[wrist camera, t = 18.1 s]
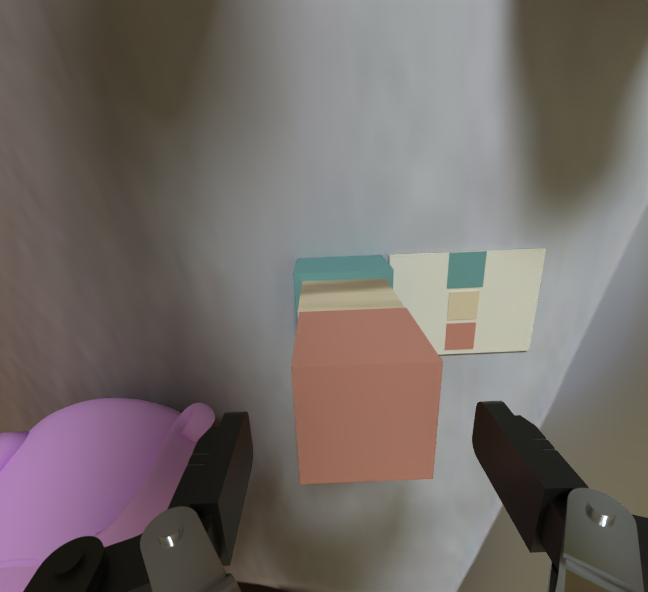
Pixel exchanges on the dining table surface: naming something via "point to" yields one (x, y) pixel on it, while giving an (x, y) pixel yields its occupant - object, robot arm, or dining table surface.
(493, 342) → the page
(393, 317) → the red block
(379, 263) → the teal base brick
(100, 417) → the teapot
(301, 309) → the maple block
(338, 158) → the dining table surface
